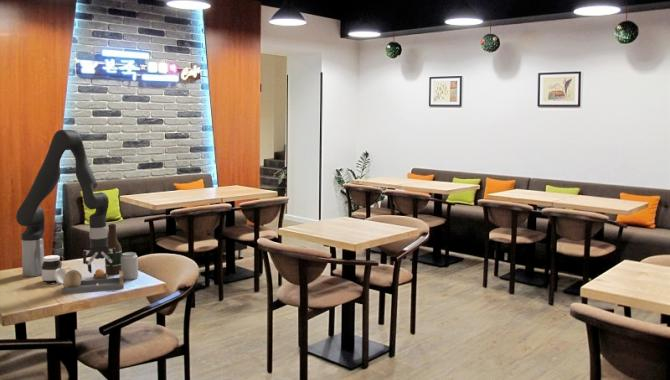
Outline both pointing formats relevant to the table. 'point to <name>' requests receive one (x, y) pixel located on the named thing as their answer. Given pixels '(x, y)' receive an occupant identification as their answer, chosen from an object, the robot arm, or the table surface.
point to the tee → (100, 277)
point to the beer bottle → (112, 244)
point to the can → (129, 265)
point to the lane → (94, 285)
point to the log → (72, 279)
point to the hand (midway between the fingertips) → (100, 271)
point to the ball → (99, 272)
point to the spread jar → (52, 270)
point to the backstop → (121, 279)
